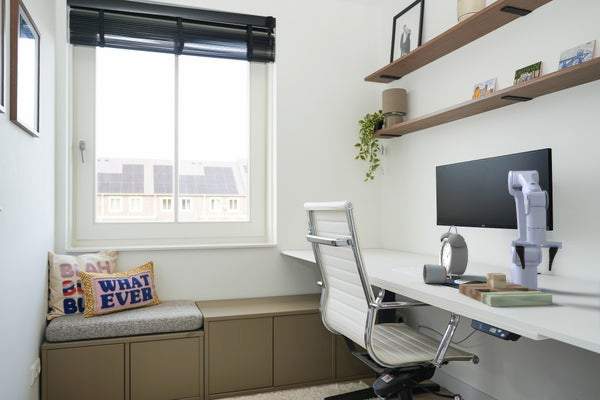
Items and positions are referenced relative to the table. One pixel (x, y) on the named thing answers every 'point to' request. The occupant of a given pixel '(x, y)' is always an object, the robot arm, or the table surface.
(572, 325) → the table surface
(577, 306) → the table surface
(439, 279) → the ceramic mug
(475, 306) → the table surface
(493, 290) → the trap deck
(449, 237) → the alarm clock
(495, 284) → the birch block
